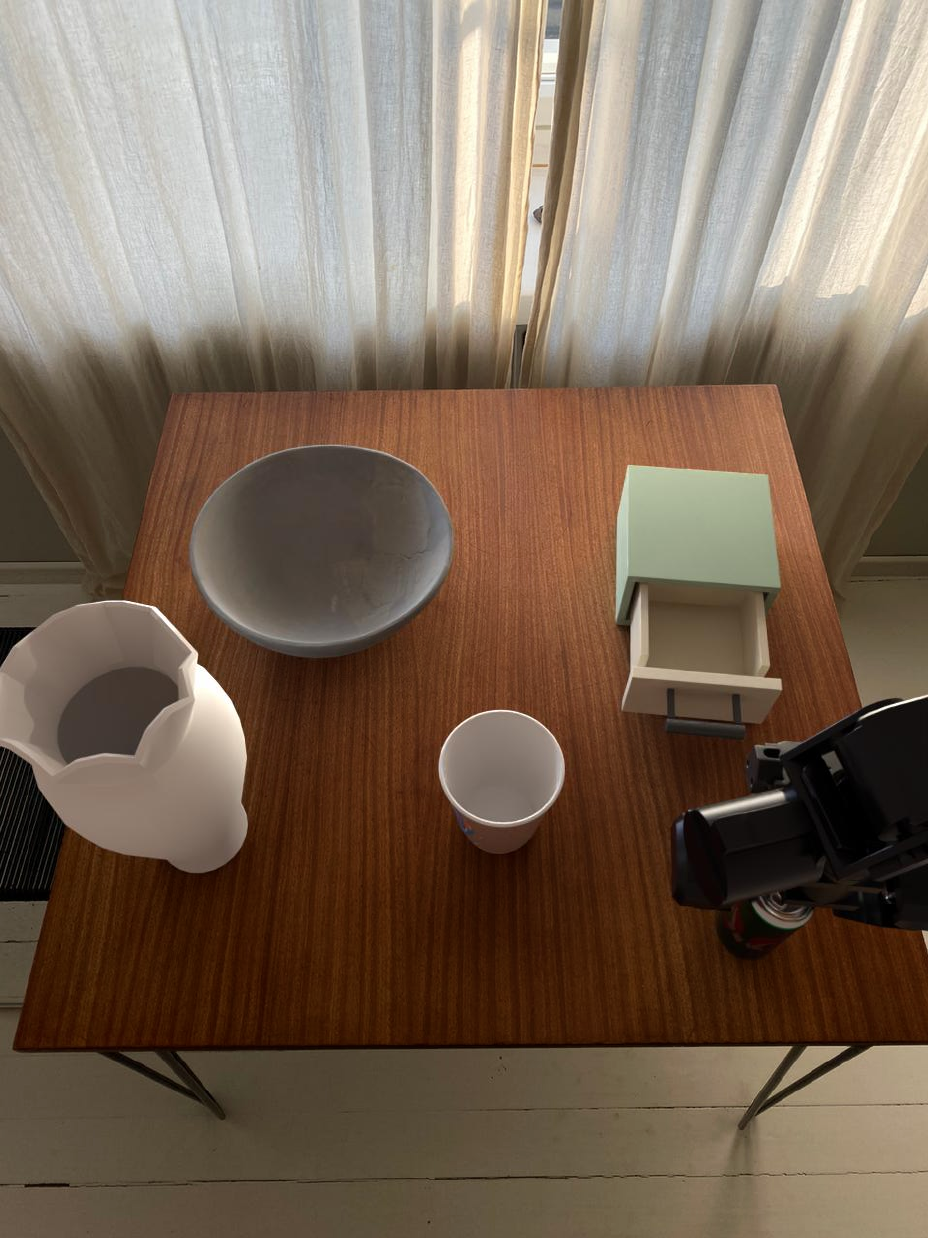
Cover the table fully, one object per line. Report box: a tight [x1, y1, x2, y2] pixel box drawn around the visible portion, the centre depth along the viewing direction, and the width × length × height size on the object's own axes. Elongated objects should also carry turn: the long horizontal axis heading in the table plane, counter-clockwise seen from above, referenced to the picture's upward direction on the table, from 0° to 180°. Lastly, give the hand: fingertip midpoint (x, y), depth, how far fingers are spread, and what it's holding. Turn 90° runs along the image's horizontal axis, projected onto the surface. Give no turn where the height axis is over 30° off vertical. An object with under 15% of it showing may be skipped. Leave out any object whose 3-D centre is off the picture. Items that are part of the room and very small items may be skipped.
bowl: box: [189, 444, 455, 659], centre depth 91 cm, size 26×26×10 cm
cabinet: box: [615, 464, 782, 627], centre depth 93 cm, size 15×15×9 cm
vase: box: [0, 600, 249, 874], centre depth 69 cm, size 15×15×29 cm
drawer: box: [621, 582, 783, 741], centre depth 85 cm, size 18×14×7 cm
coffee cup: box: [438, 709, 566, 855], centre depth 76 cm, size 10×10×12 cm
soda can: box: [715, 892, 816, 961], centre depth 70 cm, size 5×5×12 cm
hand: (774, 903), depth 68 cm, fingers open, 9 cm apart
